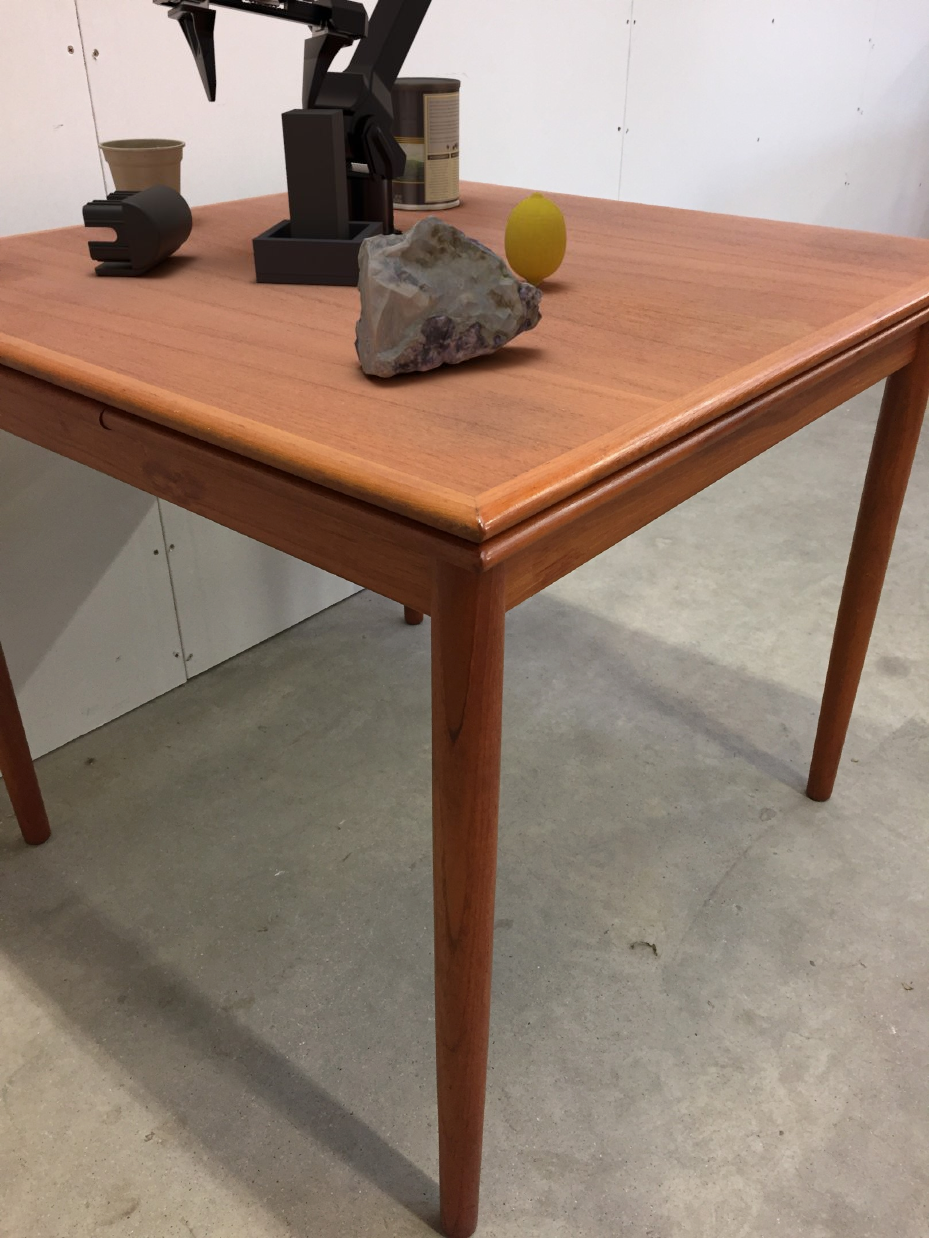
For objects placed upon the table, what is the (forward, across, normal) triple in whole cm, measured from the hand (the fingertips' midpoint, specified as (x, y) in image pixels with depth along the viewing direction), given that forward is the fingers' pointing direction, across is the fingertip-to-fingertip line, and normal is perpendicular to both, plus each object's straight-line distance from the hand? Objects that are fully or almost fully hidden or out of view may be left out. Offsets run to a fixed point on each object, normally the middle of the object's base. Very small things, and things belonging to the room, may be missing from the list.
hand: (260, 109), depth 95 cm
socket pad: (+14, +4, -7) cm, 16 cm away
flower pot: (+12, -4, +25) cm, 28 cm away
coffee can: (+6, +29, +23) cm, 37 cm away
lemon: (+13, +19, -21) cm, 31 cm away
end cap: (+15, -10, +4) cm, 18 cm away
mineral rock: (+18, +2, -38) cm, 42 cm away
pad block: (+13, +4, -6) cm, 15 cm away
